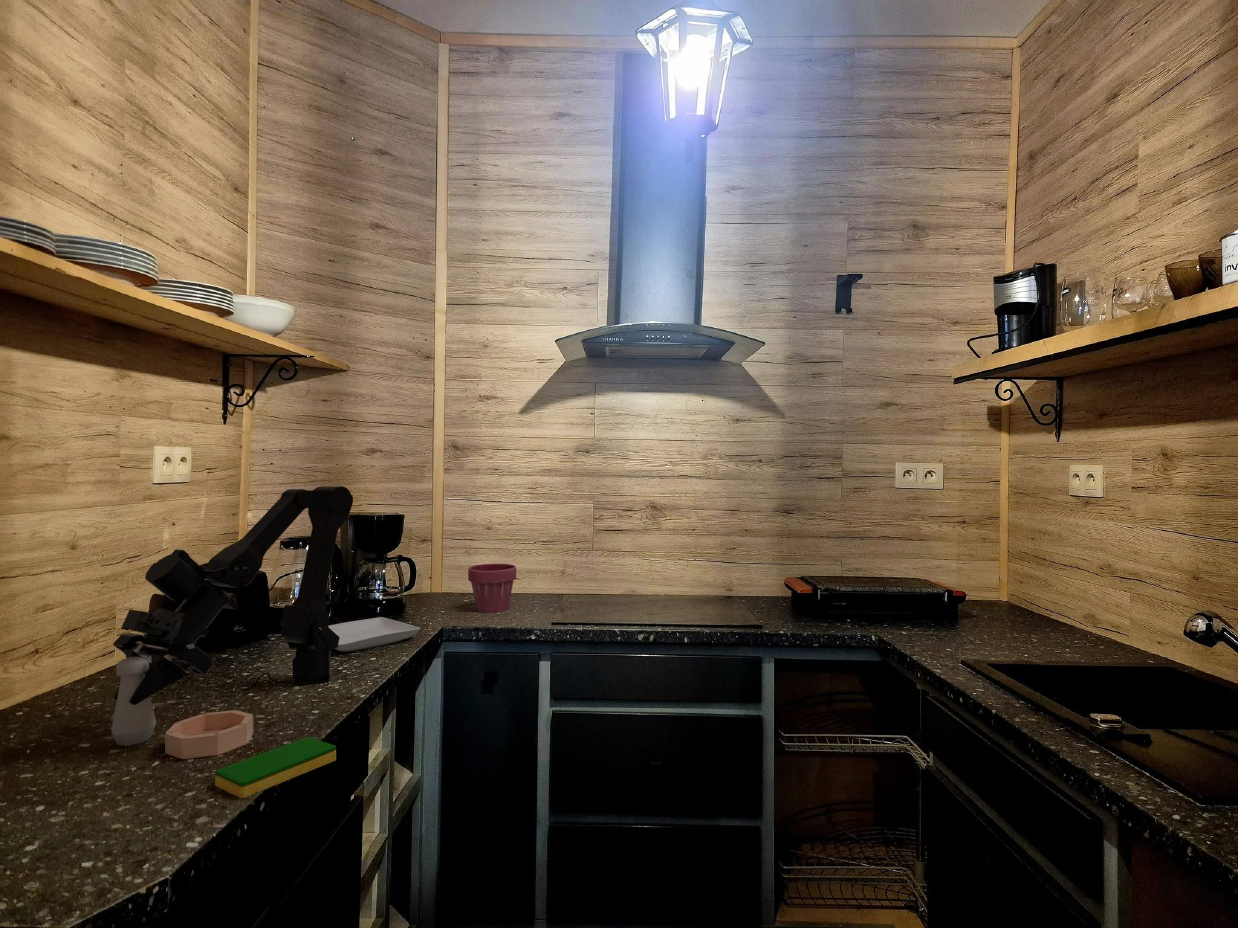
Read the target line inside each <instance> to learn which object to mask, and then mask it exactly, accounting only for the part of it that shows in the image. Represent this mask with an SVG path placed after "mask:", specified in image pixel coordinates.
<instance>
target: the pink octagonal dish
mask: <svg viewBox="0 0 1238 928" xmlns="http://www.w3.org/2000/svg"><path fill="white" fill-rule="evenodd" d="M253 734H254V714H253V713H249V712H244V711H240V710H235V709H234V710H224V711H214V712H205V713H201V714H199V715H198V714H197V715H195V716H192V717H188V718H186V719H182V720H180V721H177V722H174V724H172V726H171V727H169V729H168V730H167V731H166V732H165V733H164V744H165V745H164V748H165V750H164V752H165V753H164V754H166V755H168V756H169V755H170V756H172V757H175V758H177V759H181V760H188V759H196V758H204V757H211V756H212V757H213V756H219V755H221V754H224V753H226V752H227V753H228V752H230V751H232V750H234V749H238V748H240V747H242V746H245V745H247V744H248V743H249V741H250V739H251V737H252V736H253Z"/></svg>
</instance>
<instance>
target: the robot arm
mask: <svg viewBox="0 0 1238 928" xmlns="http://www.w3.org/2000/svg"><path fill="white" fill-rule="evenodd" d="M353 503H354V496H353V494H352V493H351V491H350V489H348V487H345V486H341V485H338V486H337V485H336V486H335V485H333V486H331V485H328V486H327V485H323V486H321V485H320V486H317V487H315V488H314V489H312V490H307V489H303V488H290V489H289V488H288V489H286V490H284V491H283V492H282V493H281V495H280V497H279V499H278V500H277V501H276V502H275V503H274V504H273V505H272V506H271V507H270V509H268V510H267V512H265V514H264V515H262V517H261V518H260V519H259V520H258V521H257V522H256V523H255V524H254V525H253V526H252V528H250V530H249V531H247V533H245V534H244V535H243V537H242V538H240V539H239V540H237V541H236V542H234V543H232V544H230V545H228V546H225V547H224V548H223V549H221V550H220V551H219V552H217V553H216V554H215V555H214V556H213V557H211V558H210V559H209V561H208V562H205V563H202V564H199V563H198V562H196V561H195V560H194V559H193V558H192V557H191V556H190V554H189V553H188V552H187V551H185V550H184V549H174V551H172V553H171V554H168V555H166V556H164V557H162V558H161V559H158V561H156V562H154V563H152V564H151V566H150V567H149V568H148V569H147V571H146V573H145V575H144V577H145V580H146V581H147V582H149V584H151V585H152V586H153V587H154V588H156V590H159V592H161V593H162V594H163V595H164V596H166V597H167V598H168V599H170V600H171V601H172V602H175V601H177V602H178V601H180V600H182V602H181V603H180V604H179V606H178V607H176V609H175V611H173V610H168V609H165V608H156V609H155V610H154V611H152V612H149V611H142V610H137V609H136V610H135V609H129V610H128V612H127V614H126V617H125V618H124V620H123V623H122V625H121V627H120V629H121V630H125V631H132V633H131V632H127V633H122V634H120V635H119V636H118V637H117V639H116V640H115V641H114V642H113V643H112V646H113V647H115V648H116V649H117V650H119V651H121V652H122V654H123V655H125V657H126V658H130V657H146V658H147V659H148V661H149V670H148V671H147V672H145V677H144V679H143V680H142V682H141V683H140V685H139V686H138V688H137V689H136V690H135V692H134V694H133V695H132V697H131V699H130V700H129V703H131V704H133V705H136V704H138V703H140V702H141V701H143V700H145V699H146V698H148V697H150V698H151V697H152V696H153V695H154V694H157V693H158V692H160V691H161V690H163V689H165V688H167V687H168V686H170V685H172V684H174V683H176V682H178V681H180V680H181V679H184V678H187V677H189V676H190V674H189V673H187V671H188V670H189V669H190V668H192V673H193V674H195V675H198V676H204V677H207V675H208V674H209V672H210V671H211V669H212V668H213V666H214V658H213V656H211V655H210V654H208V653H207V652H206V651H205V650H203V649H201V648H200V647H199V646H198V645H197V644H196V643H197V641H198V640H199V639H200V637H201V638H208V635H210V633H211V632H210V631H209V630H208V627H210V625H211V624H212V622H213V621H214V620H215V618H216V617H217V616H218V615H219V614H220V613H221V611H222V610H223V609H229V610H237V609H238V607H239V606H238V602H237V594H236V593H233V592H226V591H225V590H224V589H223V588H224V587H225V588H236V589H238V588H246V587H247V586H248V585H250V584H251V583H252V582H253V580H254V579H255V577H256V576H257V574H258V573H259V571H260V569H262V566H263V562H264V561H263V560H264V556H265V555H266V553H267V552H268V551H269V549H270V548H271V547H272V546H274V544H275V543H276V542H277V541H278V540H279V538H280V537H281V536H283V534H285V533H284V532H286V531H287V530H288V528H289V527H290V526H291V525H292V524H293V523H294V522H295V520H296V519H298V517H299V516H300V515H301V514H302V512H304V510H306V509H307V514H308V517H309V521H310V523H311V533H310V537H309V543H308V548H307V552H306V557H305V561H304V565H303V566H304V567H303V570H302V575H301V580H300V586H299V590H298V595H297V598H295V600H294V602H293V603H292V604H291V605H290V604H285V605H284V607H283V610H282V618H281V620H280V622H279V627H280V626H281V628H280V629H281V632H280V633H281V636H283V638H284V640H286V643H287V645H288V648H289V649H290V650H295V655H294V657H293V659H292V680H294V682H293V685H296V686H297V685H305V684H307V685H308V684H313V683H315V684H316V683H327V682H330V680H331V678H332V676H333V673H334V672H333V669H332V651H333V650H336V649H335V648H337V647H338V643H339V639H340V638H339V636H338V635H337V634H335V633H334V632H333V631H332V630H331V629H330V628H329V627H328V626H329V622H330V621H329V619H330V613H329V611H328V607H327V605H326V601H325V597H326V593H327V592H326V591H327V587H328V582H329V578H330V572H331V568H332V561H333V558H334V552H335V546H336V542H337V538H338V532H339V530H340V528H341V527H342V526H343V525H344V524H345V522H346V521H347V519H348V518H349V515H350V513H351V510H352V507H353ZM206 580H207V581H209V582H207V581H206ZM211 584H212V585H211ZM222 587H223V588H222ZM133 632H138V633H141V634H138V633H133ZM142 634H144V635H142ZM126 658H125V659H126ZM119 686H120V683H119V684H118V686H117V689H116V691H115V694H114V695H113V700H115V701H117V697H118V691H119Z"/></svg>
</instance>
